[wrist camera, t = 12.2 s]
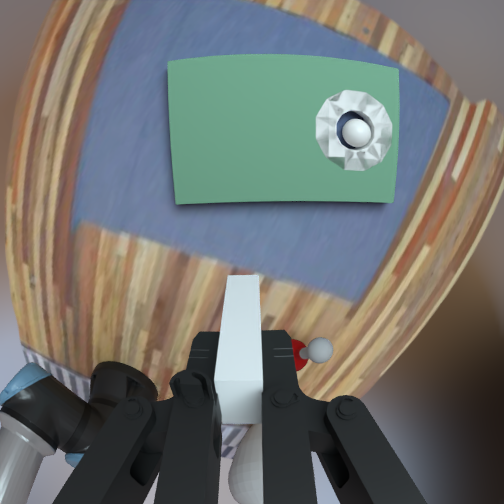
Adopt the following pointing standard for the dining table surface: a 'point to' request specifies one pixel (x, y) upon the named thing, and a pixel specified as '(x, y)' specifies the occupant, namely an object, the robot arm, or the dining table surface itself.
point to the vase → (248, 468)
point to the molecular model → (311, 351)
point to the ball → (356, 133)
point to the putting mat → (280, 129)
